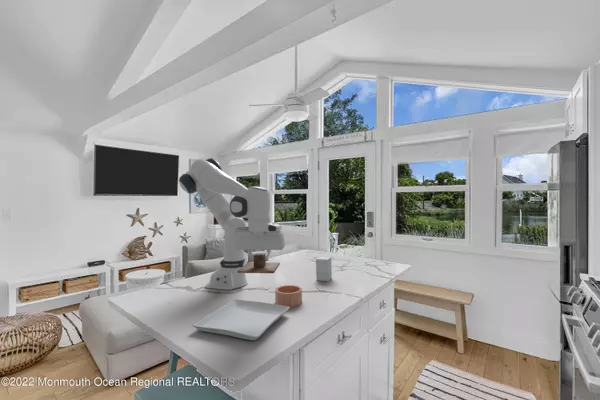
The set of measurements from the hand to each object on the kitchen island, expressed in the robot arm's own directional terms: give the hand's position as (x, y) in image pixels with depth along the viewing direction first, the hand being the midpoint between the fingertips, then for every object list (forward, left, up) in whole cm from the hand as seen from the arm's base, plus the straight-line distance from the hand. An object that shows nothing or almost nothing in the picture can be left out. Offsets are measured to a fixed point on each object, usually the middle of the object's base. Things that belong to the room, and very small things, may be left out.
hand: (259, 260), depth 115 cm
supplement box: (+25, +54, -23) cm, 64 cm away
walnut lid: (0, 0, -3) cm, 3 cm away
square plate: (-5, -5, -24) cm, 25 cm away
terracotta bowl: (+9, +17, -23) cm, 30 cm away
